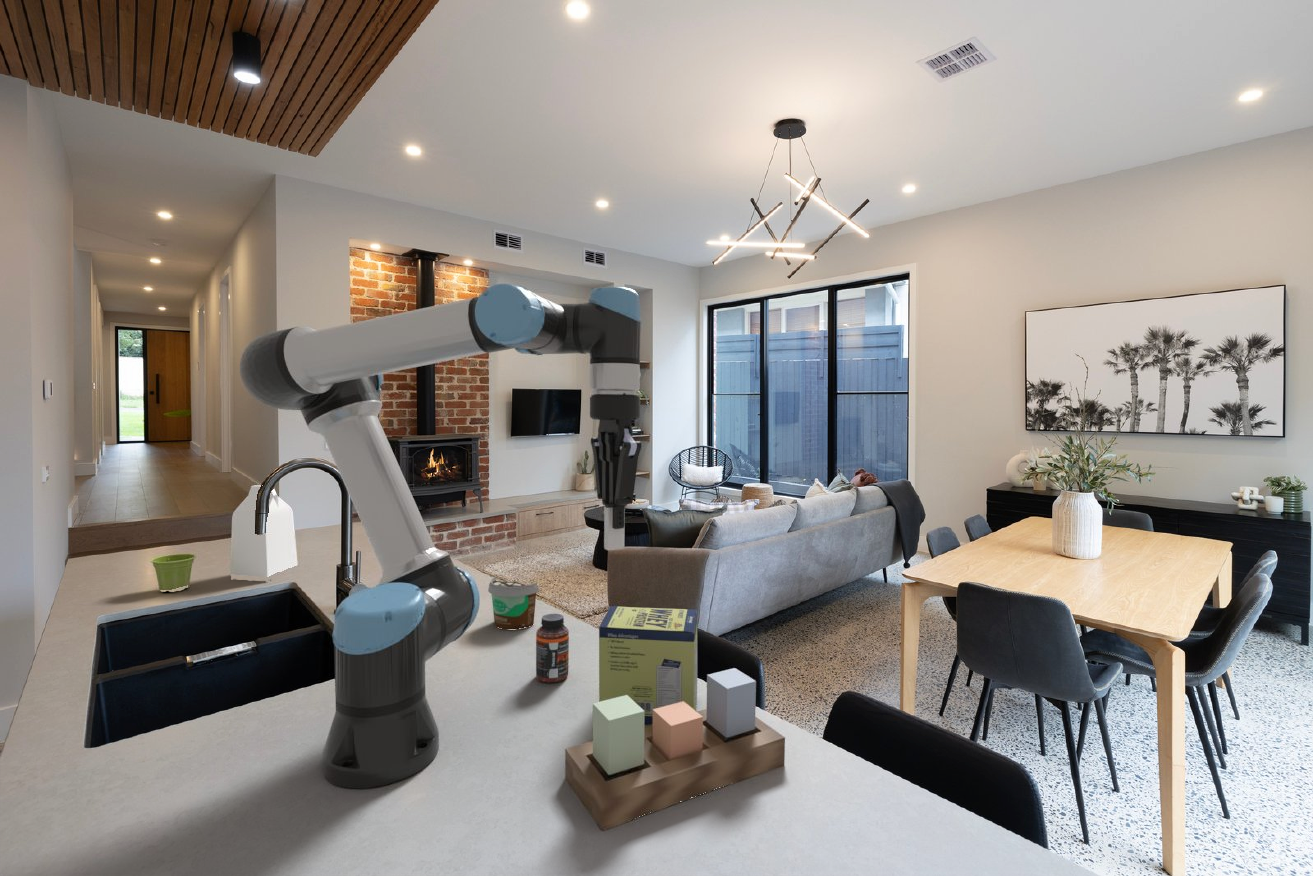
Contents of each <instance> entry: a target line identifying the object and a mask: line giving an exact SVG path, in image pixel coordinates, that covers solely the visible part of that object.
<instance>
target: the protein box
mask: <svg viewBox="0 0 1313 876" xmlns="http://www.w3.org/2000/svg"><path fill="white" fill-rule="evenodd" d="M624 695H628V696H629V697H630V698H631V699H632V700H633V701H634V702H635V703H636V704H637V705H638V706H640V707H641V708H642V709H643V710H644V711H645V713H644V726H647V725H651V724H653V709H656V708H660V707H664V706H667V705H671V704H675V703H678V702H682V701H684V702H685V703H686V704H688V705H689V706H690V707H691V708H693V709H694V710H695V711H696V712H697V701H698V610H697V609H693V608H692V609H691V608H690V609H686V608H664V607H663V608H661V607H660V608H657V607H633V606H632V607H631V606H617V605H616V606H615V605H614V606H610V607H609V608H608V610H607V612H606V613H605V616H604V617H603V619H602V621H601V622H600V625H599V626H598V700H599V701H598V702H601V701H605V700H609V699H613V698H617V697H620V696H624Z"/></svg>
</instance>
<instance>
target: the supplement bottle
mask: <svg viewBox="0 0 1313 876" xmlns="http://www.w3.org/2000/svg"><path fill="white" fill-rule="evenodd" d="M564 619H565V618H564V616H563V614H560V613H547V614H545V615H542V616H541V621H540V624H541V626H540V627H538V628H537V630H536V634H535V637H536V639H535V640H536V641H535V645H536V646H535V655H536V656H535V673H536V674H535V677H536V679H537V680H538V681H540V682H542V683H547V684H548V683H549V684H552V683H558V682H562V681H563V680H565V679H567V678H568V676H569V663H570V661H569V660H570V659H569V652H570V650H569V647H570V646H569V645H570V643H569V641H570V640H569V639H570V633H569V629H568V627H567V626H565V624H564V623H565V622H564Z"/></svg>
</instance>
